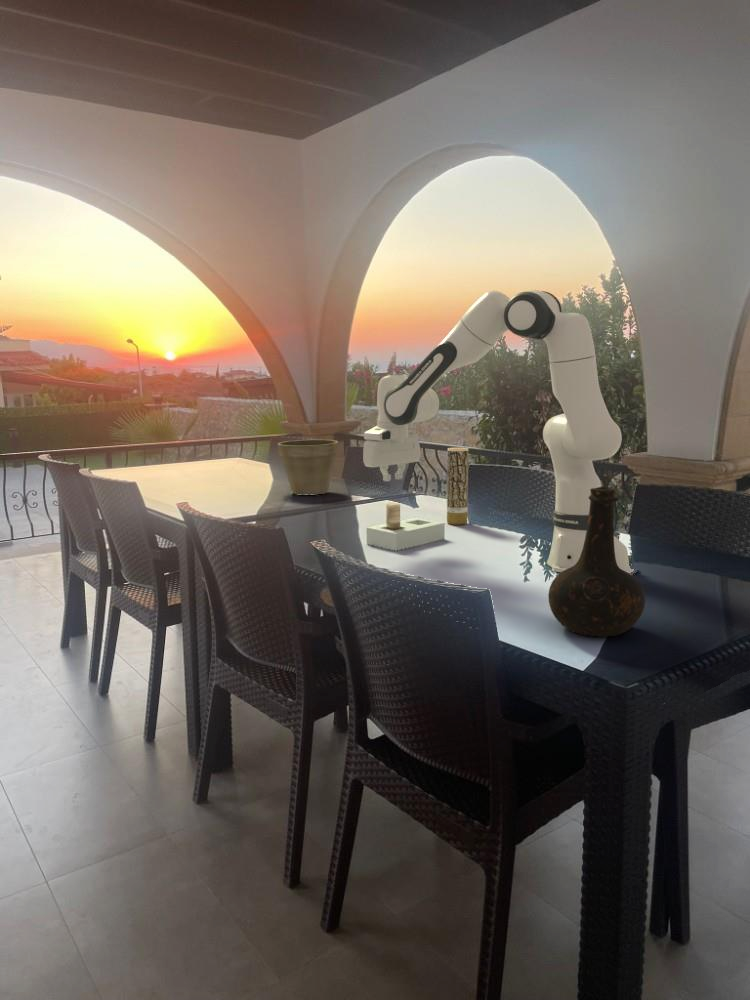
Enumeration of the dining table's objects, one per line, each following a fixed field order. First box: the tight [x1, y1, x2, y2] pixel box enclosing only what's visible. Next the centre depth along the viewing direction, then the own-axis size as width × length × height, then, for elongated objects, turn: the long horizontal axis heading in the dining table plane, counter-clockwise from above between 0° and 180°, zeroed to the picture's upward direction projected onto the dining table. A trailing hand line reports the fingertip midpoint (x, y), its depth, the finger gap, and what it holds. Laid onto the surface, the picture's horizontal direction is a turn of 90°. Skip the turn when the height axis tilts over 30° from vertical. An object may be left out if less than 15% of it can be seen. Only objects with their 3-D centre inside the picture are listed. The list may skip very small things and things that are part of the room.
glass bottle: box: [547, 486, 646, 638], centre depth 140 cm, size 18×18×28 cm
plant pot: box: [277, 439, 339, 495], centre depth 304 cm, size 25×25×22 cm
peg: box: [385, 502, 401, 531], centre depth 212 cm, size 4×4×12 cm
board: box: [366, 517, 446, 552], centre depth 217 cm, size 12×21×5 cm, turn 134°
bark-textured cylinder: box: [446, 447, 469, 526], centre depth 240 cm, size 7×7×25 cm
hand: (392, 480), depth 210 cm, fingers open, 3 cm apart
